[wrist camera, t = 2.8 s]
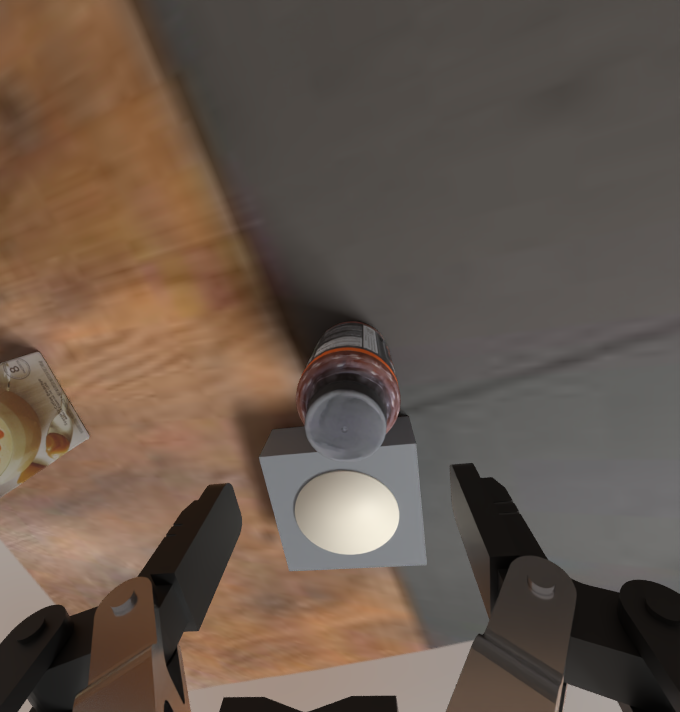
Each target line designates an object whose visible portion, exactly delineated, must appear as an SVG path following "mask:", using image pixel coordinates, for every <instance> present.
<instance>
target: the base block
mask: <svg viewBox="0 0 680 712" xmlns="http://www.w3.org/2000/svg"><path fill="white" fill-rule="evenodd" d="M259 460H260V464H261V467H262V471H263V475H264V478H265V482H266V486H267V490H268V493H269V497H270V501H271V505H272V508H273V512H274V516H275V519H276V523H277V527H278V531H279V534H280V538H281V542H282V546H283V549H284V553H285V557H286V560H287V564H288V568H289V571H305V570H327V569H348V568H370V567H392V566H414V565H427V561H426V549H425V538H424V527H423V516H422V505H421V493H420V482H419V471H418V460H417V449H416V441H415V438H414V434H413V430H412V426H411V422H410V419H409V416H406V417H397V419H396V421H395V423H394V425H393V426H392V428H391V429H390V430H389V431H388V433H386V435H385V438H384V441H383V443H382V444H381V446H380V447H379V449H378V450H377V451H376V452H375V453H374V454H372V455H371V456H369V457H367V458H365V459H363V460H360V461H356V462H337V461H334V460H331V459H328V458H326V457H324V456H323V455H321V454H320V453H318V452H317V451H316V450H315V449H314V448H313V447H312V445H311V444H310V442H309V441H308V439H307V436H306V433H305V427H304V426H303V427H293V428H283V429H273V430H272V432H271V434H270V436H269V438H268V440H267V442H266V444H265V446H264V448H263V450H262V452H261V454H260V456H259Z"/></svg>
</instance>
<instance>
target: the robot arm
mask: <svg viewBox="0 0 680 712" xmlns="http://www.w3.org/2000/svg"><path fill="white" fill-rule="evenodd" d="M450 483H451V500H452V507H453V512H454V517H455V520H456V523H457V526H458V529H459V532H460V535H461V538H462V541H463V544H464V546H465V549H466V552H467V555H468V558H469V561H470V564H471V567H472V570H473V573H474V576H475V579H476V582H477V584H478V587H479V590H480V593H481V596H482V599H483V602H484V605H485V608H486V611H487V614H488V617H489V622H488V625H487V628H486V630H485V632H484V634H483V635H481V634H478V635H477V636H476V638H475V640H474V642H473V644H472V646H471V649H470V651H469V654H468V656H467V659H466V661H465V664H464V667H463V669H462V672H461V674H460V677H459V679H458V682H457V684H456V687H455V689H454V692H453V694H452V697H451V699H450V702H449V705H448V707H447V710H446V712H563V710H564V703H565V697H566V691H567V685H568V684H570V685H573V686H576V687H579V688H582V689H585V690H587V691H590V692H593V693H596V694H599V695H601V696H604V697H607V698H610V699H613V700H616V701H618V703H619V705H620V707H621V709H622V711H623V712H680V594H679V593H677V592H675V591H674V590H672V589H670V588H668V587H666V586H663V585H661V584H658V583H655V582H651V581H646V580H632V581H628V582H626V583H625V584H624V585H623V586H622V587H621V589H620V593H619V592H614V591H610V590H606V589H602V588H598V587H593V586H589V585H586V584H582V583H580V582H577V581H575V580H573V579H571V578H570V577H569V576H568V574H567V573H566V572H565V571H564V570H563V569H561V568H560V567H559V566H557V565H556V564H554V563H553V562H551V561H549V560H548V559H547V557H546V556H545V554H544V553H543V551H542V549H541V548H540V546H539V544H538V542H537V541H536V539H535V537H534V536H533V534H532V532H531V531H530V529H529V527H528V526H527V524H526V522H525V521H524V519H523V517H522V516H521V514H519V511H518V509H517V507H516V505H515V504H514V503H513V500H512V499H511V497H510V495H509V494H508V492H507V490H506V489H505V487H503V486H502V485H501V484H500V483H498V482H497V481H496V480H495V479H493V478H492V477H489V478H480V476H479V474H478V472H477V470H476V468H475V466H474V464H473V463H466V464H454V465H450ZM241 528H242V516H241V512H240V509H239V506H238V503H237V499H236V496H235V493H234V490H233V487H232V485H231V484H230V483H225V484H213V485H209V486H207V488H206V489H205V490H204V492H203V494H202V495H201V497H200V498H199V500H195V501H193V502H192V503H191V504H190V505H189V506H188V507H187V508H186V509H184V510H183V511H182V512H181V514H180V515H179V517H178V518H177V520H176V521H175V523H174V526H173V527H171V529H170V530H169V531H168V533H167V534H166V537H164V539H163V540H162V542H161V543H160V545H159V546H158V548H157V549H156V551H155V552H154V553H153V555H152V556H151V558H150V559H149V561H148V562H147V564H146V565H145V567H144V568H143V570H142V571H141V573H140V574H139V575H138V577H136V578H132V579H129V580H127V581H125V582H123V583H122V584H120V585H118V586H117V587H116V588H114V589H113V590H112V591H111V592H110V593H109V594H108V595H107V596H106V597H105V598H104V599H103V600H102V602H101V603H100V604H99V606H98V607H95V608H92V609H89V610H86V611H84V612H81V613H78V614H75V615H72V616H69V615H68V613H67V611H66V609H65V608H64V607H63V606H62V605H51V606H48V607H45V608H43V609H41V610H39V611H37V612H35V613H34V614H32V615H30V616H29V617H27V618H26V619H25V620H24V621H22V622H21V623H20V624H19V625H17V626H16V627H15V628H14V629H13V630H12V631H11V632H10V634H8V636H7V637H6V638H5V639H4V640H3V641H2V643H1V644H0V712H18V711H19V709H20V708H21V706H22V705H23V704H24V702H25V701H26V699H28V700H29V702H30V703H31V705H32V706H33V707H32V708H31V710H30V711H29V712H191V710H190V704H189V698H188V691H187V685H186V679H185V672H184V666H183V660H182V653H181V648H180V645H179V640H180V638H181V636H182V634H183V632H187V631H199V629H200V627H201V624H202V622H203V620H204V617H205V615H206V612H207V610H208V608H209V605H210V603H211V601H212V598H213V596H214V594H215V591H216V589H217V587H218V584H219V582H220V580H221V577H222V575H223V573H224V570H225V568H226V566H227V563H228V561H229V559H230V556H231V554H232V552H233V549H234V547H235V544H236V542H237V540H238V537H239V535H240V532H241ZM219 712H302V711H299V710H296V709H294V708H291V707H289V706H286V705H283V704H281V703H278V702H276V701H273V700H270V699H268V698H265V697H226V698H223V701H222V705H221V708H220V711H219ZM309 712H398V706H397V699H396V696H351V697H348V698H345V699H342V700H340V701H337V702H334V703H332V704H329V705H326V706H323V707H320V708H318V709H315V710H312V711H309Z"/></svg>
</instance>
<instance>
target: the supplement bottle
mask: <svg viewBox="0 0 680 712" xmlns="http://www.w3.org/2000/svg"><path fill="white" fill-rule="evenodd" d="M400 401H401V400H400V391H399V387H398V382H397V378H396V374H395V370H394V367H393V363H392V359H391V355H390V351H389V348H388V345H387V343H386V341H385V340H384V338H383V337H382V335H381V334H380V333H379V332H378V331H377V330H376V329H374V328H373V327H371V326H369V325H367V324H364V323H361V322H355V321H349V322H343V323H339V324H337V325H335V326H333V327H331V328H330V329H328V330H327V331H326V332H325V333H324V334H323V336H322V337H321V338H320V340H319V341H318V343H317V345H316V347H315V349H314V351H313V353H312V355H311V357H310V359H309V361H308V363H307V365H306V368H305V370H304V371H303V374H302V376H301V378H300V381H299V383H298V387H297V393H296V405H297V410H298V413H299V416H300V418H301V420H302V422H303V424H304V427H305V433H306V436H307V439H308V441H309V442H310V444H311V445H312V447H313V448H314V449H315V450H316V451H317V452H318V453H320V454H321V455H323V456H324V457H326V458H328V459H331V460H334V461H337V462H356V461H360V460H363V459H365V458H367V457H369V456H371V455H372V454H374V453H375V452H376V451H377V450H378V449H379V447H380V446H381V444H382V443H383V441H384V438H385V435H386V433H388V431H389V430H390V429H391V428H392V426H393V425H394V423H395V421H396V419H397V417H398V414H399V411H400Z"/></svg>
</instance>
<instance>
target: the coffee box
mask: <svg viewBox="0 0 680 712" xmlns="http://www.w3.org/2000/svg"><path fill="white" fill-rule="evenodd" d="M87 439H89V434H88V433H87V431H86V429H85V427H84V426H83V424H82V422H81V421H80V419H79V417H78V415H77V414H76V412H75V410H74V409H73V407H72V405H71V404H70V402H69V400H68V399H67V397H66V395H65V394H64V392H63V390H62V389H61V387H60V385H59V383H58V382H57V380H56V378H55V377H54V375H53V373H52V372H51V370H50V368H49V367H48V365H47V363H46V361H45V360H44V358H43V357H42V355H41V354H40V352H34V353H31V354H28V355H25V356H21V357H18V358H15V359H12V360H8V361H5V362H2V363H0V498H1V497H2V496H4V495H5V494H7V493H8V492H10V491H11V490H13V489H14V488H16V487H17V486H19V485H20V484H22V483H23V482H25V481H26V480H27V479H29V478H30V477H32V476H33V475H35V474H36V473H38V472H39V471H41V470H42V469H44V468H45V467H46V466H48V465H49V464H51V463H52V462H54V461H55V460H57V459H58V458H60V457H61V456H63V455H64V454H65V453H67V452H68V451H70V450H71V449H73V448H74V447H76V446H77V445H79V444H80V443H82V442H83V441H85V440H87Z"/></svg>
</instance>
